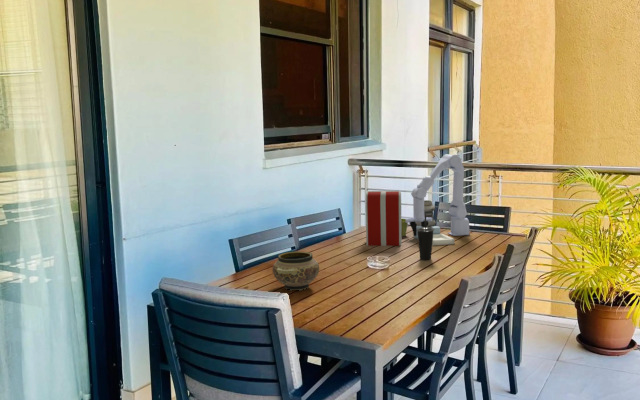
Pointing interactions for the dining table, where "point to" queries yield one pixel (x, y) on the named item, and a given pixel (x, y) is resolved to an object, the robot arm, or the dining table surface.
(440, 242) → the tray
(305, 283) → the ceramic bowl
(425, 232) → the drinking cup
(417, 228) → the block
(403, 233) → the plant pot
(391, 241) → the red striped block
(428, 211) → the apothecary jar
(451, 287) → the dining table surface
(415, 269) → the dining table surface
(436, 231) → the block
